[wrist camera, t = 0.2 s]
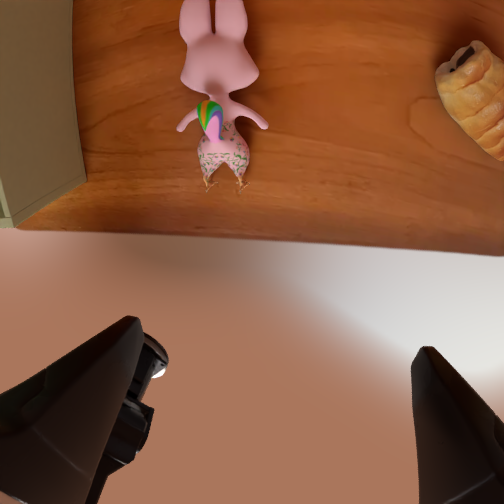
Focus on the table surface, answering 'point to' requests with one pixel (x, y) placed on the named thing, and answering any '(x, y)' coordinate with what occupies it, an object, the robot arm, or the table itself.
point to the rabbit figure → (218, 82)
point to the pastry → (475, 95)
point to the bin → (36, 108)
